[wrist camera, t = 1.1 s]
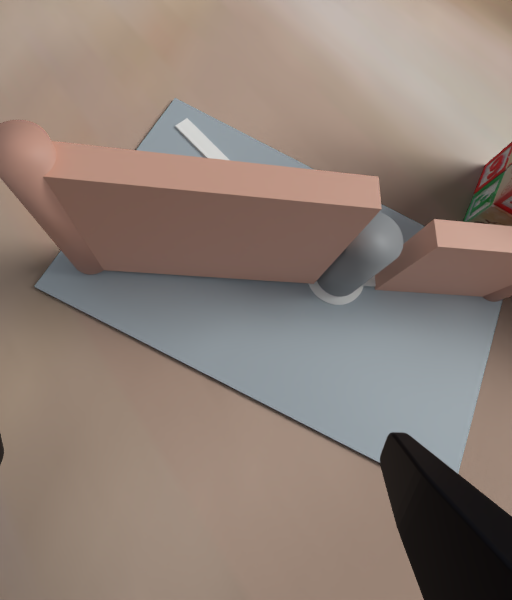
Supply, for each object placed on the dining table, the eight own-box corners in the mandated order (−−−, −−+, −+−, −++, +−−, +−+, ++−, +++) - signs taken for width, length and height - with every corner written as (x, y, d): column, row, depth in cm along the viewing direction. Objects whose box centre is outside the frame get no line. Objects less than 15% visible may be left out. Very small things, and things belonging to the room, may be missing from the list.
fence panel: (358, 254, 23) (453, 161, 14) (361, 297, 22) (464, 225, 14) (76, 232, 21) (-8, 106, 12) (68, 280, 20) (-28, 180, 11)
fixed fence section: (373, 295, 23) (445, 248, 16) (371, 265, 24) (439, 207, 17) (504, 303, 24) (620, 262, 18) (499, 274, 25) (609, 224, 18)
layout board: (449, 498, 20) (453, 500, 20) (35, 287, 20) (32, 285, 20) (508, 271, 25) (512, 269, 25) (175, 100, 25) (174, 96, 25)
